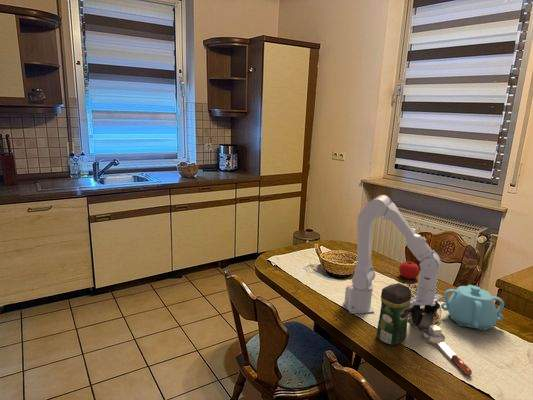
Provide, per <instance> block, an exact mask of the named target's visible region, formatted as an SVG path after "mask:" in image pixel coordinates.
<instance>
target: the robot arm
mask: <svg viewBox="0 0 533 400" xmlns="http://www.w3.org/2000/svg"><path fill="white" fill-rule="evenodd" d="M382 216H383V217H382ZM380 217H382V220H386V221H389V222H392V224H393V225H394V226H395V227H396V228H397V230H398V231H399V232H400V233H401V234H402V235H403V237H404V238H405V239H406V242H405V246H406V247H407V248H408V249H409V250H410V253H412V255H413V256H414V257H415V258H416V260H418V262H419V269H420V270H419V274H418V281H417V288H416V294H415V296H413V297H411V301H410V305H409V311H410V314H411V315H412V322H413V323H414V324H415V325H418V324H419V321H420V317H421V315H422V313H423V311H424V310H423V309H421V308H420V306H424V307H426V308H427V309H429V310H430V311H432V312H433V313H434V315H435V314H436V312H437V311H438V310H439V309H440V308H441V302H443V295H440V294H438V293H436V288H437V284H438V275H439V269H440V264H441V257H440V256H439V253H437V252H436V251H435V249H432V247H430V245H429V244H428V243H427V239H426V237H425V236H422V235H421V234H418V233H415V231H413V229H412V228H411V226H410V224H409V223H408V222H407V220H406V218H405V217H404V216H403V214H402V213H401V212H400V209H398V207H397V205H396V204H395V203H394V202H392V199H391V198H390V197H389V196H387V195H386V194H380V195H378V196H376V197H375V198H373V199H371V200H370V201H369V202H367V203H366V204H364V207H362V210H361V211H360V212H359V214H358V215H357V232H356V233H357V239H356V241H357V244H356V265H355V268H354V274H353V276H352V277H351V283H352V285H348V286H346V287H345V292H344V301H343V304H344V306H345V308H346V309H347V310H348V311H349V313H350V314H363V313H364V314H366V313H370V314H371V313H375V310H374V309H373V307H372V306H371V305H372V295H373V287H374V286H373V284H372V283H373V280H375V277H376V273H375V270H374V264H373V262H372V245H373V244H372V243H373V241H372V240H373V239H372V237H373V235H372V233H373V232H372V231H373V221H374V220H375V219H377V218H380Z"/></svg>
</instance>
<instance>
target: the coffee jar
mask: <svg viewBox="0 0 533 400" xmlns="http://www.w3.org/2000/svg"><path fill="white" fill-rule="evenodd" d="M411 299H412V290H411V289H410V287H409V286H407V285H404V284H402V283H400V282H398V283H393V284H390V285H386V286H385V287H383V288H382V289H381V294H380V302H381V304H380V312H379V318H378V321H377V322H378V323H377V328H376V337H377V338H378V339H379V341H381V342H382V343H384V344H386V345H390V346H396V345H398V344H400V343H402V342H403V341H405V340H406V338H407V335H408V334H407V333H408V316H409V311H410V309H409V305H410V301H411Z"/></svg>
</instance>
